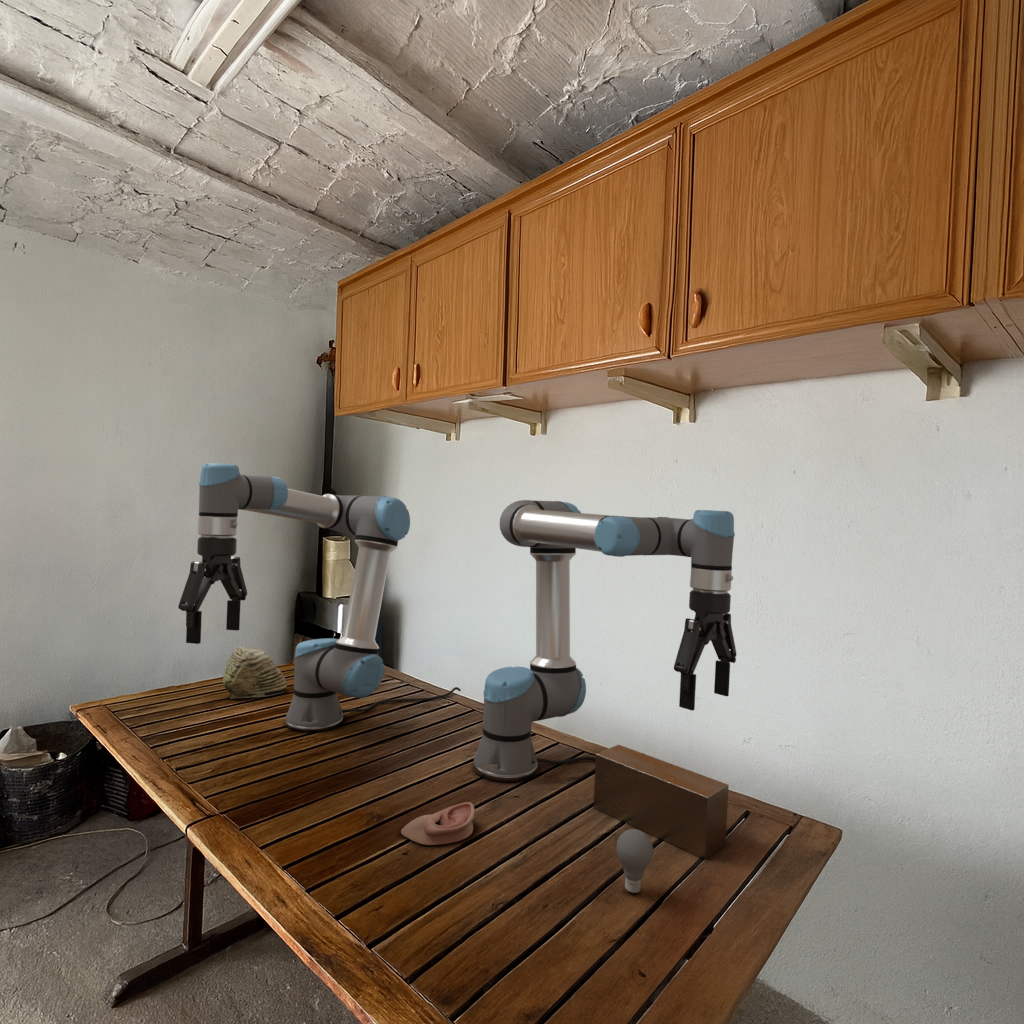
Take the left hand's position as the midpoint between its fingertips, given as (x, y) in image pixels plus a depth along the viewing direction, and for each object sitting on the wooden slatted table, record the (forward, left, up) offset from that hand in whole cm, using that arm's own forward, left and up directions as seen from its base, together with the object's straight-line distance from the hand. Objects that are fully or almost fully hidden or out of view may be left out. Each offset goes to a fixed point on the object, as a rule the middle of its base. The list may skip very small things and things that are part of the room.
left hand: (214, 636), depth 135 cm
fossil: (-39, -52, -33) cm, 73 cm away
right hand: (-52, +87, -5) cm, 102 cm away
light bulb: (-30, +85, -33) cm, 96 cm away
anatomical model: (-21, +48, -33) cm, 62 cm away
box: (-53, +78, -33) cm, 100 cm away
